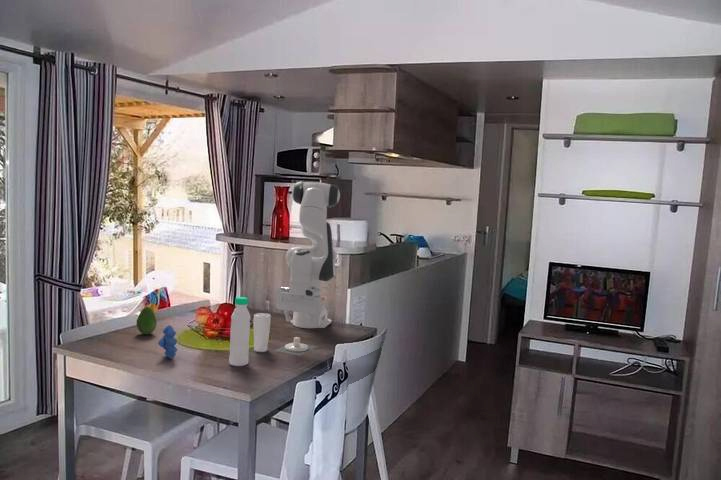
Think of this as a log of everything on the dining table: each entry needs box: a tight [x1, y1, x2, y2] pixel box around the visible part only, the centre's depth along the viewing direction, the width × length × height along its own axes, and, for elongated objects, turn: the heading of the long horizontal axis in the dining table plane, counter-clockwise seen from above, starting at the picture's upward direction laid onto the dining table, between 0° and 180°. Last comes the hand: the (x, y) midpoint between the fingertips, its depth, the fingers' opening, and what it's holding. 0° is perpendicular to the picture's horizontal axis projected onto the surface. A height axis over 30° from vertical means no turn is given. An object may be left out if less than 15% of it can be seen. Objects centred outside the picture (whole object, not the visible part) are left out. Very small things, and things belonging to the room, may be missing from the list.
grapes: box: [157, 324, 178, 360], centre depth 205 cm, size 12×7×12 cm, turn 35°
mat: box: [273, 341, 318, 357], centre depth 227 cm, size 16×12×1 cm
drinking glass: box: [252, 312, 272, 353], centre depth 221 cm, size 7×7×15 cm
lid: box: [284, 336, 308, 352], centre depth 226 cm, size 10×10×4 cm
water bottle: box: [228, 296, 251, 367], centre depth 203 cm, size 7×7×25 cm
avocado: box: [136, 306, 157, 336], centre depth 235 cm, size 8×8×12 cm
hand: (298, 322), depth 225 cm, fingers open, 8 cm apart
